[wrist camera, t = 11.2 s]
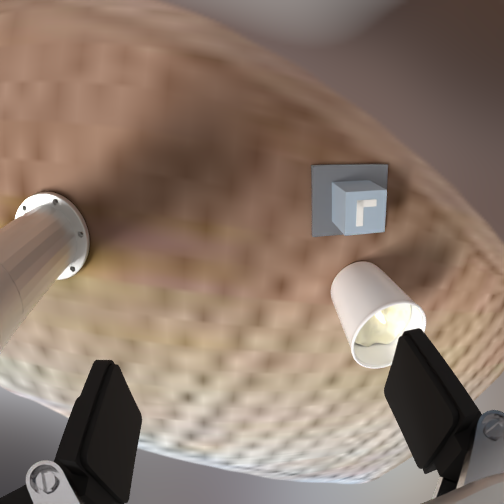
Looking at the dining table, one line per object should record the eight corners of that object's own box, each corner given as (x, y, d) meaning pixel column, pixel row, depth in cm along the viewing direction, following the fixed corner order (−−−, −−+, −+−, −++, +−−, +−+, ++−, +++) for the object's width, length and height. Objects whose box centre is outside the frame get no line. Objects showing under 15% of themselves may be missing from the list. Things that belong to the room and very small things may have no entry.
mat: (311, 235, 41) (312, 236, 40) (311, 165, 37) (312, 165, 36) (381, 229, 41) (383, 231, 41) (385, 163, 37) (387, 164, 37)
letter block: (331, 182, 37) (346, 192, 33) (369, 180, 38) (387, 190, 33) (331, 222, 40) (345, 237, 35) (368, 219, 40) (384, 233, 35)
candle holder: (384, 307, 47) (419, 357, 36) (325, 320, 47) (349, 376, 36) (389, 250, 43) (432, 294, 32) (323, 261, 42) (354, 312, 32)
